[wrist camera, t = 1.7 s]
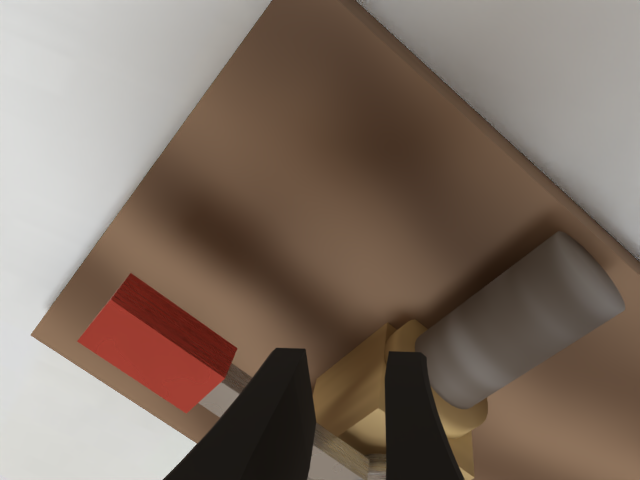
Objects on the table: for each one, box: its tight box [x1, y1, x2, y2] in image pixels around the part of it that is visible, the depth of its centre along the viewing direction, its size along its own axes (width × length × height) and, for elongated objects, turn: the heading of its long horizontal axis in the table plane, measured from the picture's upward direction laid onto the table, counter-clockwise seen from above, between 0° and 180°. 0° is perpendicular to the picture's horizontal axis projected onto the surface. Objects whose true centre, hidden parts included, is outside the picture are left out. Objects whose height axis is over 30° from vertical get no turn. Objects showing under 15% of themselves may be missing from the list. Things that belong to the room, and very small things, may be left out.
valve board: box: [31, 0, 640, 480], centre depth 21 cm, size 18×23×6 cm
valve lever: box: [77, 273, 386, 480], centre depth 17 cm, size 2×11×1 cm, turn 51°
